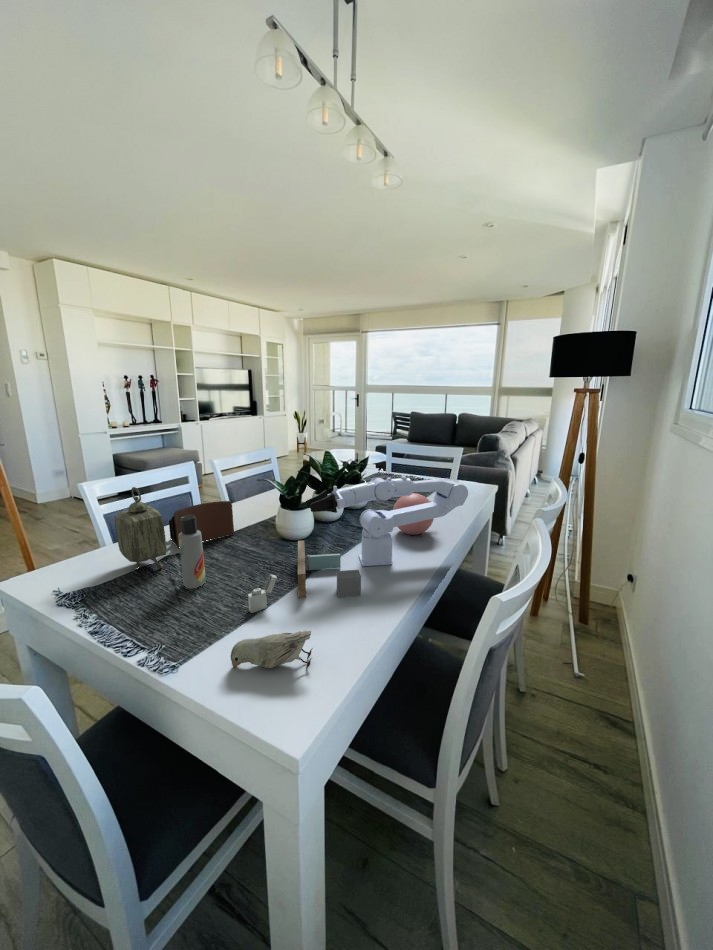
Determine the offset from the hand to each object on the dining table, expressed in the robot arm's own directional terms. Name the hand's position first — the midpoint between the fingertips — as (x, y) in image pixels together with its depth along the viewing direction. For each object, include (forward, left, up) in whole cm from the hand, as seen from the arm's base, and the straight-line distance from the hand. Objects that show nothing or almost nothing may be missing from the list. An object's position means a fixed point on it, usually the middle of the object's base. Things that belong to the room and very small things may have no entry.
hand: (308, 506), depth 111 cm
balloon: (-41, -25, -20) cm, 52 cm away
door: (-4, +1, -20) cm, 20 cm away
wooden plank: (+2, +5, -20) cm, 21 cm away
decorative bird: (+8, +40, -20) cm, 46 cm away
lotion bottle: (+32, +5, -20) cm, 38 cm away
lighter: (+12, +19, -20) cm, 30 cm away
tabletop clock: (+50, -8, -20) cm, 55 cm away
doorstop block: (-10, +15, -20) cm, 27 cm away
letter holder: (+38, -30, -20) cm, 53 cm away
